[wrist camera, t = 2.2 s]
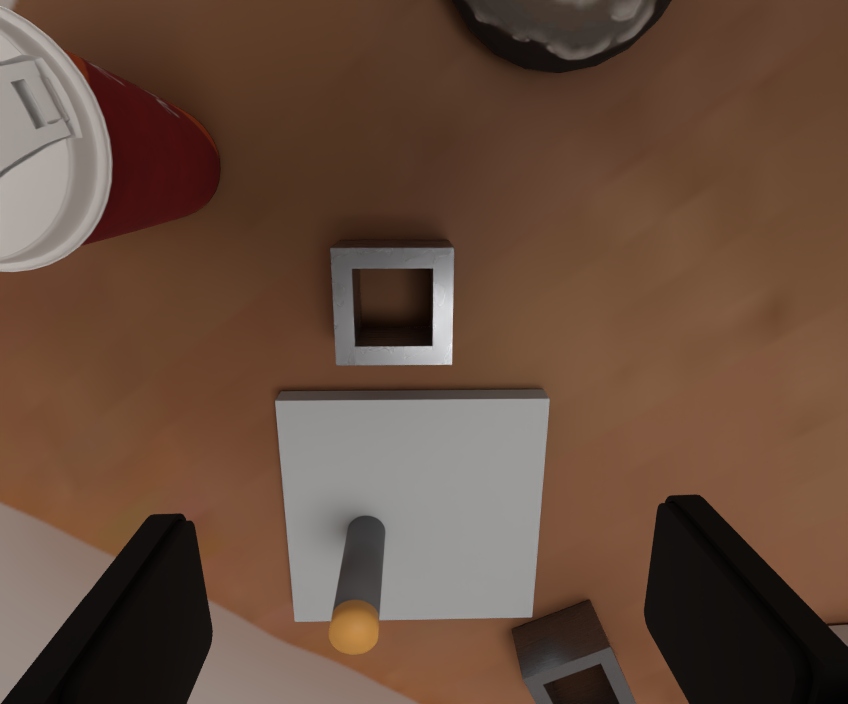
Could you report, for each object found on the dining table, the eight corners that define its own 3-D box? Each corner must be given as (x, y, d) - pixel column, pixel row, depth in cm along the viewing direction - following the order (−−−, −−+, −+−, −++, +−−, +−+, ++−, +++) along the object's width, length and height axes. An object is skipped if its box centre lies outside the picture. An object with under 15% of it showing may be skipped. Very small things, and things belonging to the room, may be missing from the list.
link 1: (340, 240, 29) (330, 247, 25) (448, 239, 29) (454, 247, 25) (345, 343, 31) (336, 365, 27) (446, 342, 31) (451, 364, 27)
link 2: (511, 629, 38) (522, 679, 34) (589, 599, 37) (610, 646, 33) (541, 686, 39) (555, 739, 35) (616, 658, 39) (639, 710, 35)
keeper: (281, 391, 32) (229, 472, 23) (543, 389, 32) (596, 468, 23) (299, 604, 36) (262, 742, 27) (527, 600, 37) (565, 735, 28)
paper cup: (201, 59, 26) (-17, -76, 13) (265, 208, 28) (137, 226, 15) (62, 114, 27) (-284, 41, 13) (135, 256, 29) (-99, 315, 16)
